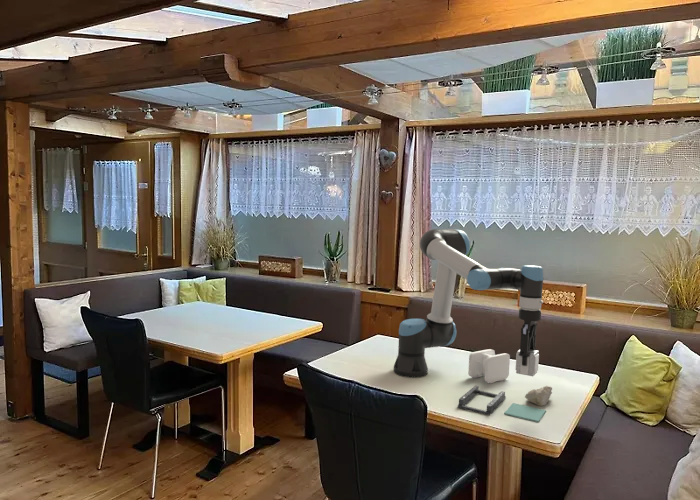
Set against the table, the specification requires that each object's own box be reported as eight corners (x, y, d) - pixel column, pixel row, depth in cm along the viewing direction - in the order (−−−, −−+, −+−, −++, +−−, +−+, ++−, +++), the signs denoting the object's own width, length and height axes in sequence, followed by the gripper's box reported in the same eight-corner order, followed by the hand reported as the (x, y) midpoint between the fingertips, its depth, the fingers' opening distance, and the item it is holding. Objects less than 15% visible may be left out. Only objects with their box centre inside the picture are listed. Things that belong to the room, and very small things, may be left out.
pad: (504, 414, 190) (504, 412, 190) (512, 404, 201) (513, 402, 200) (538, 422, 184) (538, 420, 184) (545, 411, 194) (545, 410, 194)
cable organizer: (485, 385, 221) (487, 358, 220) (466, 378, 230) (468, 351, 229) (509, 379, 230) (510, 353, 229) (490, 372, 238) (491, 347, 237)
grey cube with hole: (514, 373, 190) (516, 350, 190) (519, 369, 195) (520, 347, 195) (534, 376, 187) (535, 354, 186) (538, 372, 192) (539, 350, 191)
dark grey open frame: (457, 407, 195) (457, 399, 195) (475, 392, 212) (475, 384, 212) (489, 415, 189) (490, 407, 189) (505, 398, 206) (505, 390, 206)
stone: (524, 409, 205) (520, 390, 201) (538, 388, 212) (534, 369, 208) (542, 416, 200) (539, 396, 196) (557, 394, 207) (553, 375, 203)
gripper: (534, 314, 179) (530, 380, 181) (546, 306, 195) (543, 367, 197) (512, 311, 183) (508, 376, 185) (526, 303, 199) (522, 363, 201)
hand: (526, 371), depth 191 cm, fingers closed on grey cube with hole, 6 cm apart
